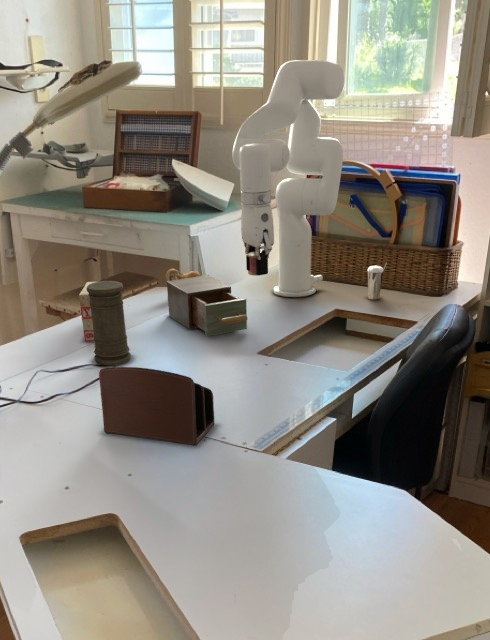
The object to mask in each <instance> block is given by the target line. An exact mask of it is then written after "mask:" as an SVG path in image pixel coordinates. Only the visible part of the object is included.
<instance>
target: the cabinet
mask: <svg viewBox="0 0 490 640" xmlns="http://www.w3.org/2000/svg"><path fill="white" fill-rule="evenodd" d="M166 290H167V305H168V316H169V317H170V318H171V319H173V320H174V321H176V322H178V323H179V324H180V325H182V326H183V327H185V328H187V329H188V330H195V329H200V328H199V327H197V326H196V325H194V324H193V323H192V315H191V297H190V296H193V295H199V294H205V293H212V292H218V291H224V290H225V291H227V292H229V293H231V294H232V286H231V285H229V284H227V283H225V282H223V281H221V280H219V279H217V278H215V277H213V276H212V275H209V274H207V275H201V276H199V277H193V278H186V279H179V280H172V281H167V280H166Z"/></svg>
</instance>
